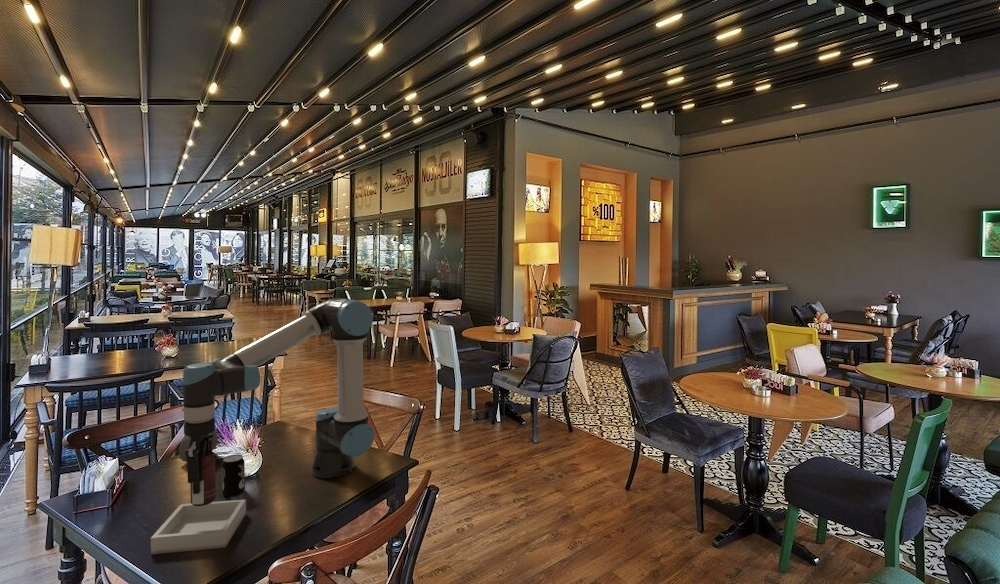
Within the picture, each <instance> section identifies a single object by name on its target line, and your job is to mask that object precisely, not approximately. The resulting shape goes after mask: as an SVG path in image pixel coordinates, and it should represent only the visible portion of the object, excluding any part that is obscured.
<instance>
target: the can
mask: <svg viewBox="0 0 1000 584" xmlns="http://www.w3.org/2000/svg"><path fill="white" fill-rule="evenodd" d="M202 480H204V503H203V504H192V483H189V484H190V487H189V488H190V504H192V505H194V506H204V505H208V504H210V503H212V502H215V499H216V496H217V491H216V484H217V483H216V455H215V453H214V451H213V452H212V451H208V455H204V456H203V468H202Z"/></svg>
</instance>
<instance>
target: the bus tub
mask: <svg viewBox="0 0 1000 584" xmlns="http://www.w3.org/2000/svg"><path fill="white" fill-rule="evenodd" d="M246 515H247V500H246V499H236V500H235V499H233V500H232V499H231V500H222V501H213V502H212V503H210V504H208V505H204V506H194V505H192V504H191V503H182V504H179V506H177V508H176V509H175V510H174V511H173V512H172V513H171V514H170V516H169V517H168V518H167V519H166V520H165V521H164V522H163V523H162V525H160V527H159V528H158V529H157V530H156V532H154V534H153V535H152V536H151V537H150V555H159V554H160V555H161V554H169V553H170V554H171V553H180V552H181V553H182V552H190V551H192V552H193V551H202V550H203V551H205V550H211V549H212V550H215V549H223V548H224V549H226V547H227V546H228V544H229V543H230V541H231V540H232V537H233V536H234V535H235V533H236V531H237V529H238V527H239V526H240V525H241V523H242V521H243V520H244V519H245V516H246Z"/></svg>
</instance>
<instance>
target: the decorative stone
mask: <svg viewBox="0 0 1000 584" xmlns="http://www.w3.org/2000/svg"><path fill="white" fill-rule="evenodd" d="M210 434H213V441H212V449H214V448H215V449H216V448H217V444H218V440H219V438H218V436H219V435H218V434H217V432H216V430H214V432H212V433H210ZM190 441H191V438H190V437H189V436H186V435H184V434H183V438H182V440H181V442H180V443H179V448H178V456H179V459H180V461H182V462H185V463H187V458H186V454H185V451H186V450H190V447H189V444H190Z"/></svg>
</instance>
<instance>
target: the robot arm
mask: <svg viewBox="0 0 1000 584" xmlns="http://www.w3.org/2000/svg"><path fill="white" fill-rule="evenodd" d="M373 317H374V316H373V312H372V310H371V308H370V306H369V305H367V304H366V303H365V302H363V301H360V300H357V299H352V298H343V297H342V298H341V297H333V298H330V299H327V300H325V301H322V302H320V303H319V304H316V306H313V307H311V308H309V309H307V310H306V311H304V313H303V315H302V316H301V317H299V318H296V319H295V320H293V321H291V322H289V323H287V324H286V325H284V326H282V327H280V328H279V329H276V330H275V331H273V332H271V333H269V334H266V335H265V336H263V337H261V338H259V339H258V340H256V341H254V342H252V343H250V344H248V345H246V346H244V347H242V348H241V349H239V350H237V351H236V352H233V353H231V354H229V355H228V356H226V357H220V358H215V359H213V360H210V362H202V363H192V364H188V365H186V366H185V367H184V368H183V370H182V371H183V372H182V373H183V374H182V382H181V383H182V395H183V398H182V399H183V407H182V409H181V411H182V412H183V420H184V422H183V436H184V435H186V436H189V437H190V438H191V441H190V444H189V447H190V450H186V451H185V454H186V458H187V462H186V472H187V484H190V483H192V504H203V503H204V480H202V468H203V456H204V455H208V451H212V441H213V434H210V433H212V432H214V431H216V418H215V416H216V408H215V407H216V403H215V401H216V400H215V399H216V398H215V397H216V396H224V395H230V394H231V395H232V394H238V393H243V392H249V391H250V392H251V391H253V390H254V391H255V390H257V389H258V388H259V386H260V384H261V372H260V369H259V366H262V365H263V364H265V363H267V362H269V361H270V360H272V359H274V358H275V357H277V356H280V354H283V353H285V352H286V351H288V350H290V349H291V348H293V347H295V346H296V345H298V344H301V343H302V342H304V341H306V340H307V339H309V338H311V337H313V336H320V335H323V334H324V333H326V332H330V331H331V339H332V340H331V341H332V342H334V343H335V344H336V364H337V365H336V366H337V367H336V368H337V370H336V371H337V372H336V373H337V378H336V379H337V406H335V407H329V408H324V409H321V410H319V411H317V413H316V417H315V443H316V448H315V449H316V450H315V455H314V458H313V461H312V463H311V471H310V472H311V475H312V476H313V477H315V478H318V479H335V478H334V477H337V478H339V477H338V476H341V475H344V474H347V473H349V472H350V471H351V470H352V469H353V468H354V469H355V460H354V458H355V457H360V456H362V455H364V454H366V453H367V452H368V451H369V449H370V448H371V447H372V445H373V444H374V440H375V431H374V429H373V427H372V426H371V425H370V424H369V413H368V412H367V411H366V410H365V409H364V408H365V407H364V406H365V404H364V402H365V401H364V355H363V353H364V347H363V346H364V342H365V341H366V340H367V339H368V332H369V331H370V329H371V328H372V326H373V322H374V318H373ZM350 473H351V472H350ZM350 473H349V474H350ZM347 475H348V474H347ZM344 476H345V475H344ZM341 477H342V476H341Z"/></svg>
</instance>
